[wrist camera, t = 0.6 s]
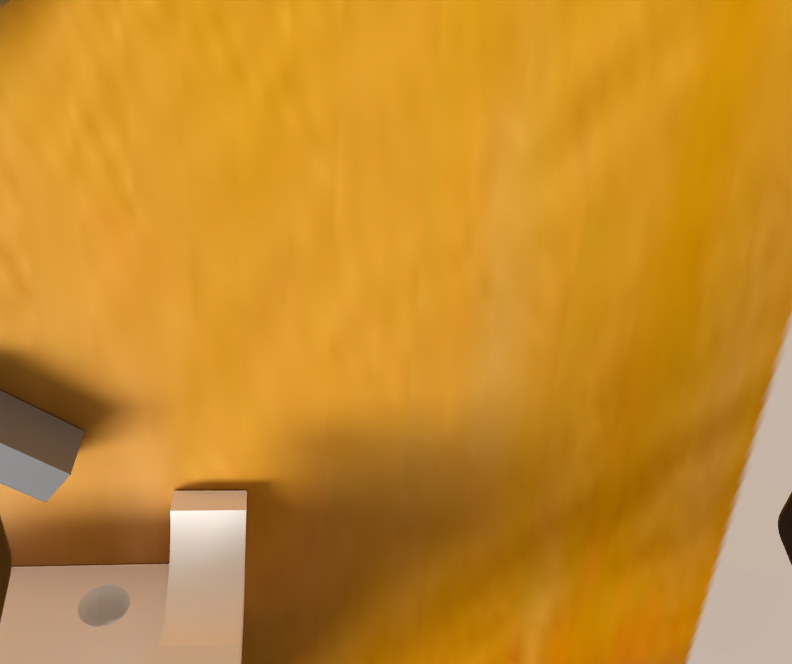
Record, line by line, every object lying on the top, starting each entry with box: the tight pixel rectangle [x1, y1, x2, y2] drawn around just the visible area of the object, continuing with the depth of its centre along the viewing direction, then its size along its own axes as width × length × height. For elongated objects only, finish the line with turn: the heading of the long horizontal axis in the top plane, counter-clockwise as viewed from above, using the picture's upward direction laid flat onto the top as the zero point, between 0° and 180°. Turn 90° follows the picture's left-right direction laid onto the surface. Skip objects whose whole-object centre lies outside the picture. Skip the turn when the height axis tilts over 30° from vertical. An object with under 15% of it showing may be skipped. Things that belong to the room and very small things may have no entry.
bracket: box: [0, 490, 247, 664], centre depth 25 cm, size 13×7×8 cm
